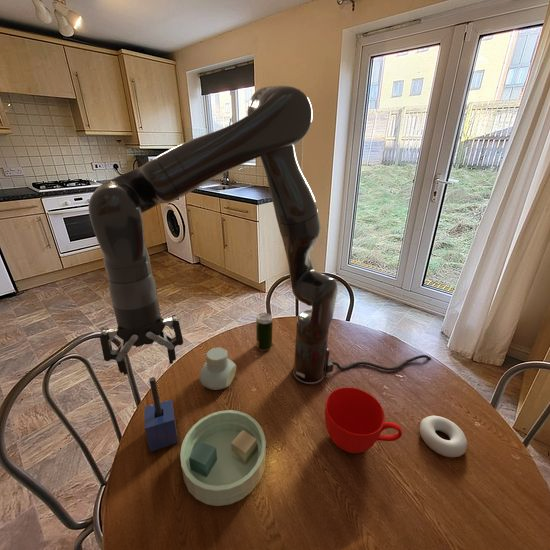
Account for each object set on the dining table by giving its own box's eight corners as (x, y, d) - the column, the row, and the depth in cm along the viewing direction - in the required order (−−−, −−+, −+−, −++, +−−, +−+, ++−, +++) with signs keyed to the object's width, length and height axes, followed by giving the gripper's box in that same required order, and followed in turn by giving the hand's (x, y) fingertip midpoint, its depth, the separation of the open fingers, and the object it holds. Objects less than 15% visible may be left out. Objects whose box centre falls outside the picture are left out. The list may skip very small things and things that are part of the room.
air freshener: (214, 365, 91) (212, 339, 87) (238, 370, 89) (238, 344, 85) (196, 391, 82) (193, 363, 77) (223, 398, 80) (222, 369, 75)
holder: (175, 422, 72) (171, 399, 69) (178, 444, 67) (174, 419, 64) (149, 430, 70) (144, 406, 67) (150, 453, 65) (144, 428, 62)
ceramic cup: (395, 483, 61) (405, 451, 56) (316, 454, 66) (319, 423, 62) (395, 430, 72) (403, 401, 68) (327, 409, 77) (331, 381, 73)
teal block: (217, 459, 64) (216, 447, 62) (206, 477, 60) (205, 465, 59) (201, 452, 65) (200, 440, 63) (190, 469, 62) (188, 457, 60)
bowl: (250, 417, 74) (250, 401, 72) (277, 485, 60) (278, 468, 57) (178, 440, 68) (176, 424, 66) (189, 524, 53) (186, 506, 51)
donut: (469, 467, 64) (459, 428, 73) (474, 457, 63) (463, 419, 71) (420, 452, 67) (416, 416, 75) (423, 442, 65) (419, 407, 74)
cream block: (256, 450, 66) (256, 438, 64) (245, 465, 63) (245, 453, 61) (243, 441, 68) (242, 429, 66) (231, 455, 65) (230, 442, 63)
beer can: (261, 353, 97) (261, 323, 92) (253, 344, 101) (253, 315, 96) (275, 347, 100) (275, 318, 95) (266, 339, 104) (267, 310, 99)
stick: (166, 434, 70) (155, 376, 62) (166, 438, 68) (155, 380, 61) (160, 435, 69) (149, 377, 62) (161, 440, 68) (149, 381, 61)
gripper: (86, 315, 47) (108, 389, 54) (178, 300, 52) (187, 369, 59) (93, 294, 54) (112, 363, 60) (174, 282, 59) (183, 347, 66)
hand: (149, 366), depth 60 cm, fingers open, 8 cm apart
